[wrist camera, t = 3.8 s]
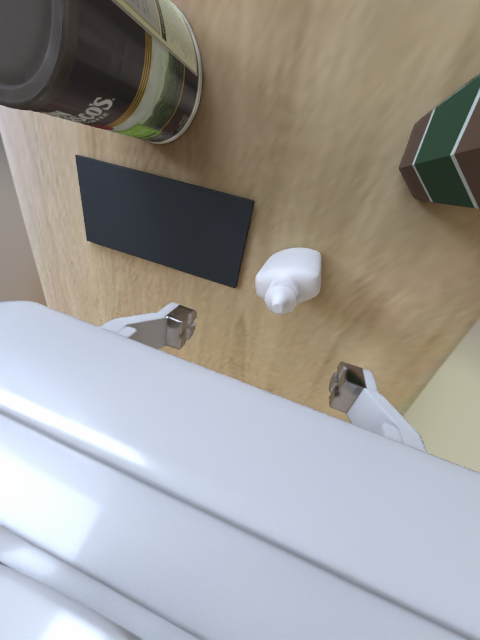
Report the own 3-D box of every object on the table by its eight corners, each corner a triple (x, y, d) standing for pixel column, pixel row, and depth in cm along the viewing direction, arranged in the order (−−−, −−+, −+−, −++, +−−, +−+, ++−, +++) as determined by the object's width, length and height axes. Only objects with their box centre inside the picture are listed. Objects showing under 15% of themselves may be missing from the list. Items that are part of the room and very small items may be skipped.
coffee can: (202, 149, 24) (86, 114, 12) (116, 139, 26) (-54, 102, 15) (206, -10, 19) (12, -329, 7) (97, -6, 21) (-191, -249, 9)
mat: (78, 155, 28) (75, 154, 28) (254, 200, 25) (253, 201, 25) (89, 239, 34) (86, 240, 33) (236, 287, 30) (235, 288, 30)
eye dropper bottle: (308, 290, 28) (299, 348, 18) (264, 269, 28) (231, 315, 18) (328, 255, 25) (331, 300, 15) (280, 233, 26) (252, 263, 16)
